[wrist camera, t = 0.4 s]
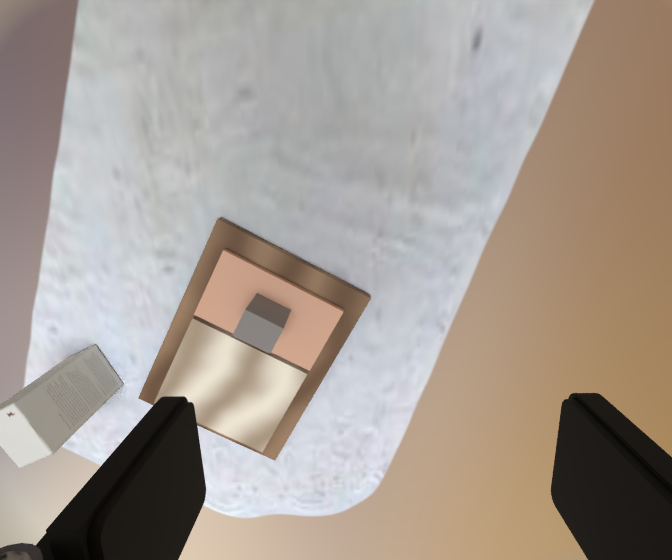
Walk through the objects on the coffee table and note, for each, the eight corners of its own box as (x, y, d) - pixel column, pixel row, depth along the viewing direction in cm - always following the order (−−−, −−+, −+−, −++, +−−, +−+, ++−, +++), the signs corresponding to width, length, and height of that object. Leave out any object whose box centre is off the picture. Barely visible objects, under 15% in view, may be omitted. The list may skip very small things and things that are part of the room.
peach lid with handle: (196, 311, 43) (173, 333, 37) (225, 248, 41) (206, 261, 35) (310, 367, 44) (304, 396, 39) (343, 309, 42) (343, 330, 37)
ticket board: (143, 392, 48) (134, 402, 46) (221, 217, 41) (214, 219, 39) (276, 453, 49) (273, 465, 48) (370, 294, 43) (371, 300, 41)
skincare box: (67, 357, 47) (-25, 419, 35) (96, 343, 46) (12, 401, 34) (97, 397, 48) (17, 470, 36) (125, 384, 47) (54, 454, 36)
